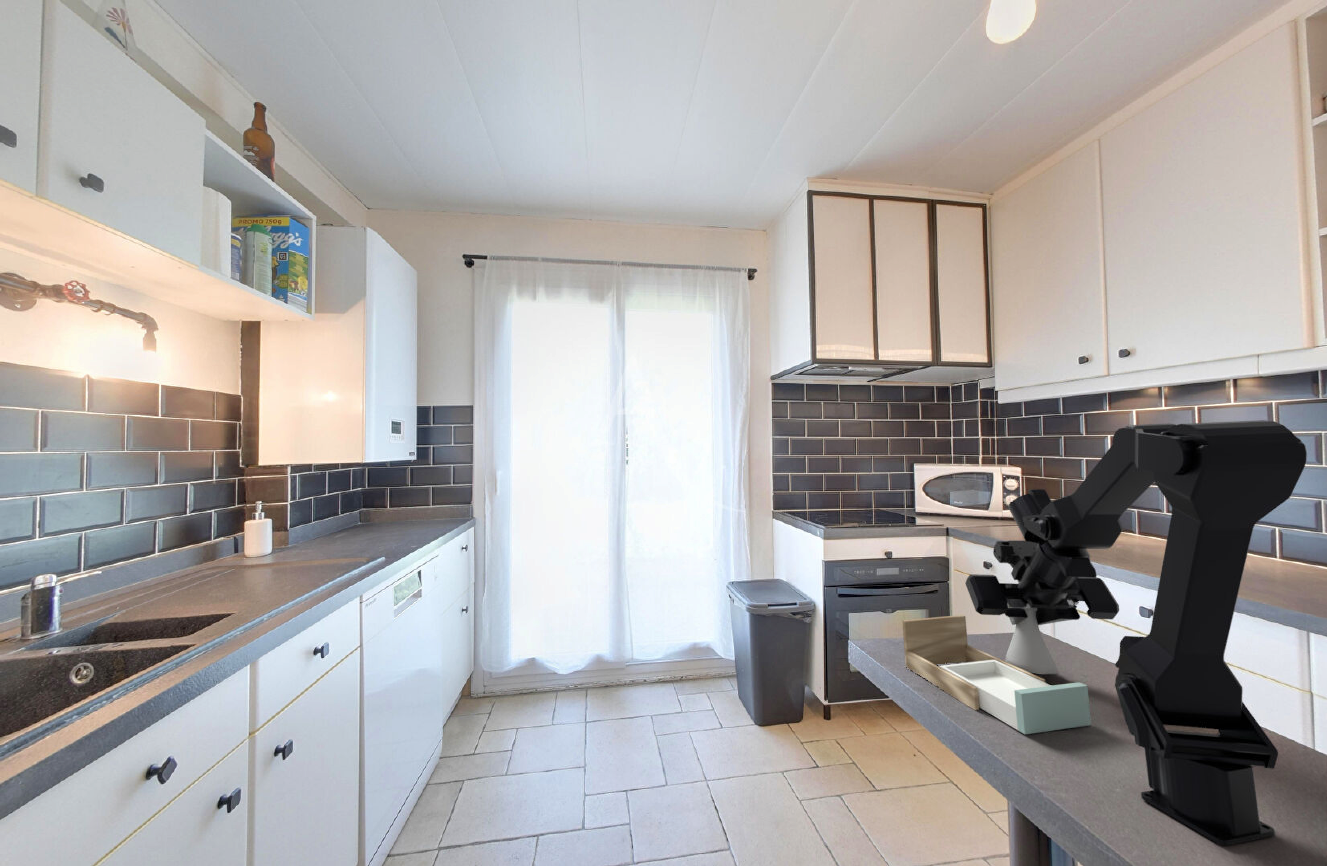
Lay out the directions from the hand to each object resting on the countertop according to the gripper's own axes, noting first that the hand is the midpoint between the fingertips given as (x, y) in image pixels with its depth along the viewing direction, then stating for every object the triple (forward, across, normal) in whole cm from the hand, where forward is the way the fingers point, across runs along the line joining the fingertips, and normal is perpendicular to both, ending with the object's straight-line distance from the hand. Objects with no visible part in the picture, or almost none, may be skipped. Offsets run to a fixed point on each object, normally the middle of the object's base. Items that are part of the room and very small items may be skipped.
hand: (1022, 622), depth 79 cm
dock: (+1, +11, +10) cm, 15 cm away
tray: (-3, +8, +14) cm, 17 cm away
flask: (+4, 0, +6) cm, 7 cm away
